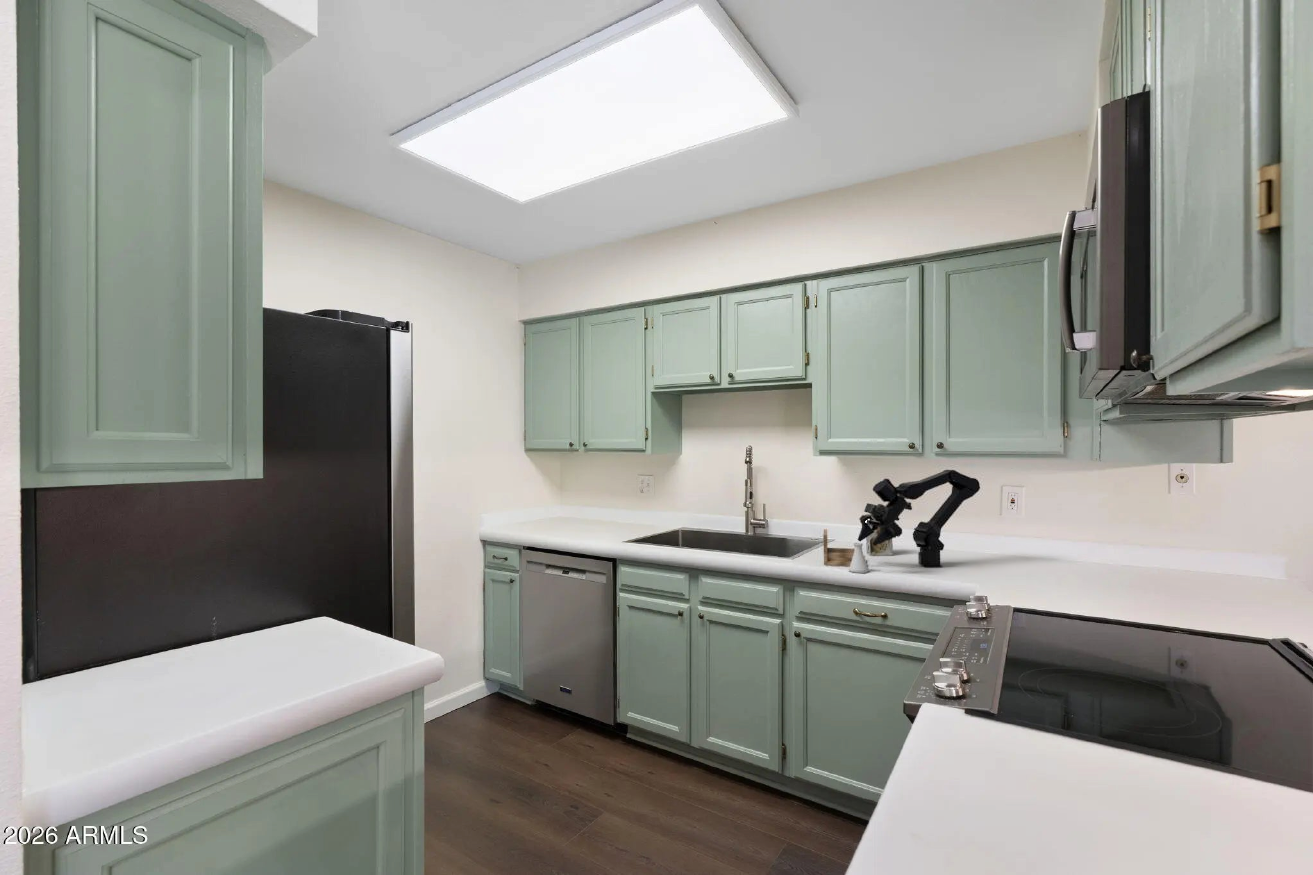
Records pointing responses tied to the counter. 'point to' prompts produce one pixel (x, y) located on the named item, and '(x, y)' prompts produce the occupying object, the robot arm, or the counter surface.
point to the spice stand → (837, 554)
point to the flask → (858, 560)
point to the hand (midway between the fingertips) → (865, 542)
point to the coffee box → (880, 549)
